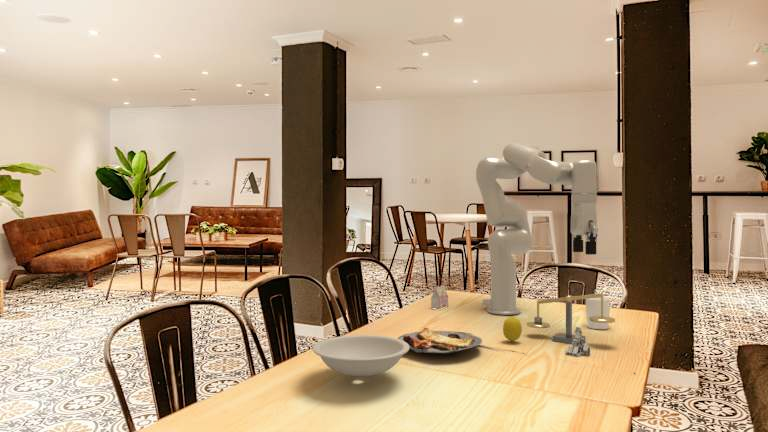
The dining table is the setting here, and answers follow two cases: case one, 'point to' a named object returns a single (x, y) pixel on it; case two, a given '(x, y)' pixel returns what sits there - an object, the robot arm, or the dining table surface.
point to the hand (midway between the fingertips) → (584, 253)
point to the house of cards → (578, 345)
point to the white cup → (597, 311)
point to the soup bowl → (361, 353)
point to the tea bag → (439, 298)
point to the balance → (568, 317)
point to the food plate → (440, 341)
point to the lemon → (512, 328)
